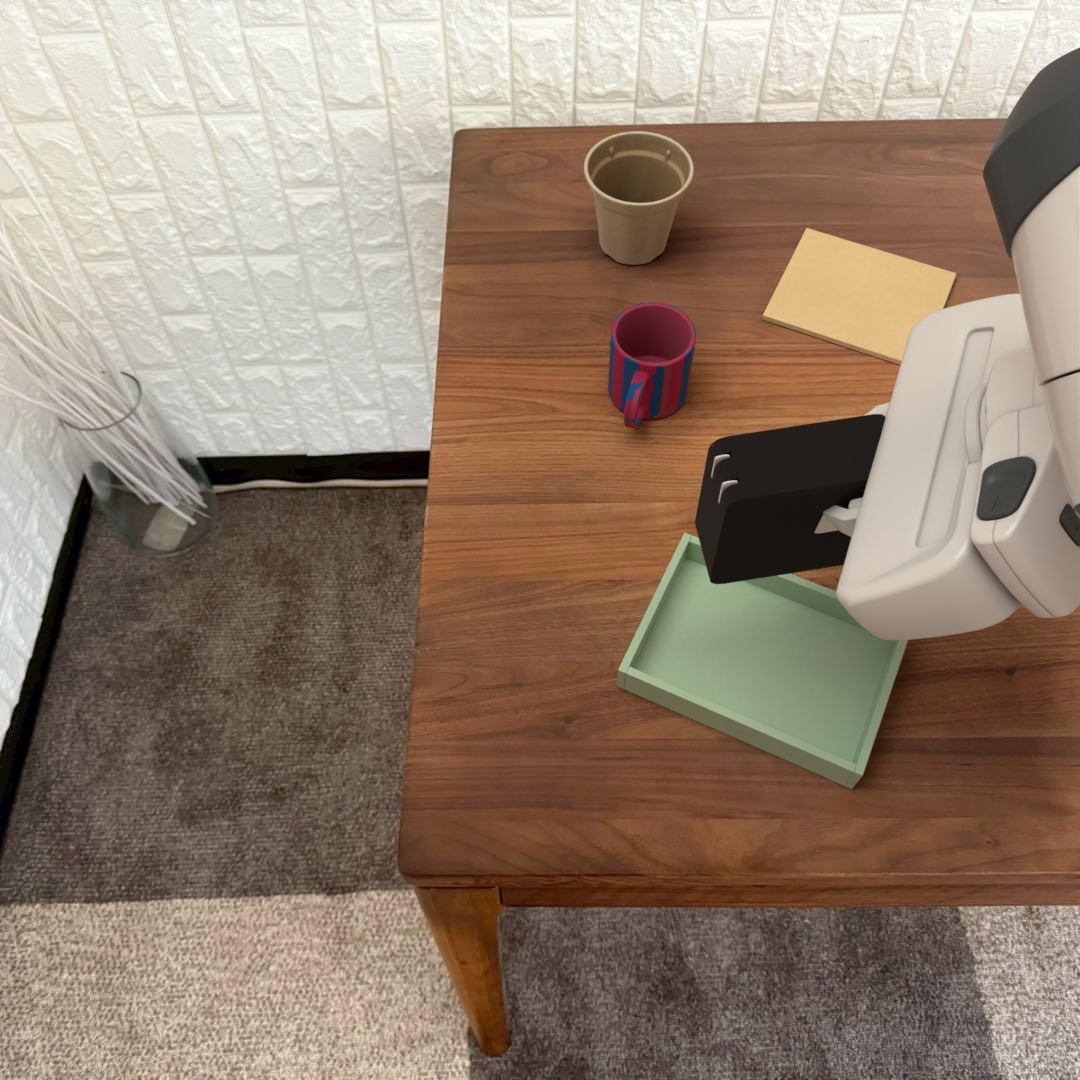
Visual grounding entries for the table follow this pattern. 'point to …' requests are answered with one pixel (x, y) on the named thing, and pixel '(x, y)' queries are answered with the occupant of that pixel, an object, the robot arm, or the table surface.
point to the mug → (650, 361)
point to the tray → (764, 664)
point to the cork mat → (856, 295)
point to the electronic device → (782, 496)
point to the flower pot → (636, 192)
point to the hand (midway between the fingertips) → (817, 484)
